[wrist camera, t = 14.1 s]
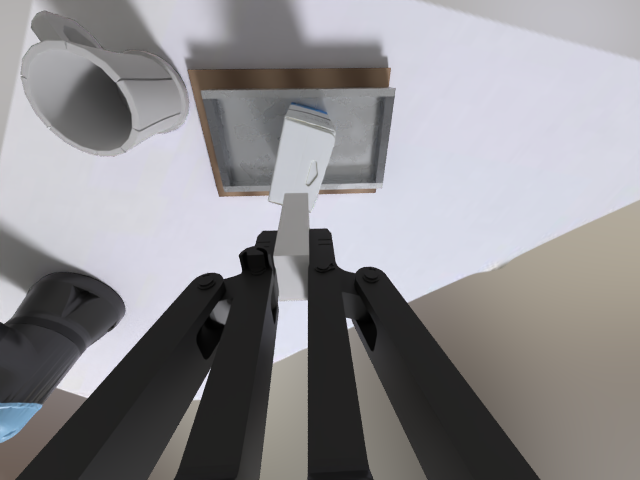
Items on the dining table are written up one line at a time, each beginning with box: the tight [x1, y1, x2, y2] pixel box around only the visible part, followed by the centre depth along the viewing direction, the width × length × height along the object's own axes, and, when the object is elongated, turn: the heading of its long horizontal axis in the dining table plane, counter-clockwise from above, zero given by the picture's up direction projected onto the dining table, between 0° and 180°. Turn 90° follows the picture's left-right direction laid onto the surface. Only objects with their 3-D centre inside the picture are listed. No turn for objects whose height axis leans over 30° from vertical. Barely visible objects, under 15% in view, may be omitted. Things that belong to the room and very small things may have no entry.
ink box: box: [268, 102, 336, 213], centre depth 29 cm, size 8×5×12 cm, turn 163°
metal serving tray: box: [201, 87, 396, 192], centre depth 33 cm, size 22×12×3 cm, turn 90°
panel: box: [188, 68, 391, 197], centre depth 35 cm, size 24×16×1 cm, turn 90°
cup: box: [21, 11, 189, 157], centre depth 26 cm, size 10×9×12 cm
